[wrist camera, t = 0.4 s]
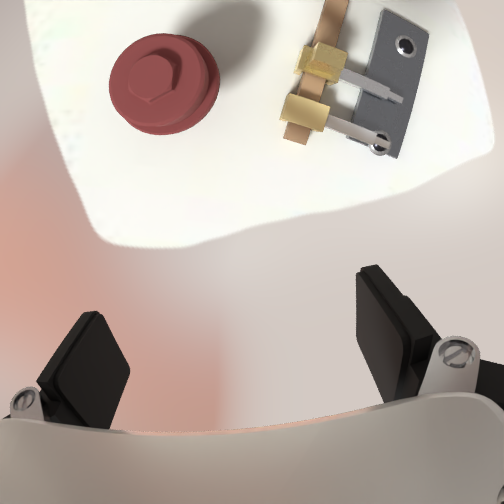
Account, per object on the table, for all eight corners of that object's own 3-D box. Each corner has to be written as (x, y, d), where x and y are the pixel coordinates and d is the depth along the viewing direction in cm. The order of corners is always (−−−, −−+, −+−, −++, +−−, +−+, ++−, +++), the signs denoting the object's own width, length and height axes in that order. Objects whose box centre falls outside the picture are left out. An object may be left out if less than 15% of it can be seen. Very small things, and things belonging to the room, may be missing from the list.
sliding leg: (299, 51, 29) (312, 34, 22) (397, 91, 30) (426, 87, 24) (293, 72, 30) (304, 60, 24) (391, 112, 32) (420, 111, 25)
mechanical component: (242, 81, 31) (191, 149, 34) (174, 39, 28) (126, 106, 31) (240, 57, 19) (163, 160, 22) (142, 4, 17) (75, 101, 20)
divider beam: (319, -11, 25) (325, -21, 22) (411, 30, 27) (422, 24, 24) (273, 135, 33) (276, 136, 30) (372, 169, 35) (383, 173, 32)
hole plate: (381, 11, 26) (384, 8, 25) (425, 35, 27) (429, 34, 26) (344, 142, 34) (347, 143, 32) (392, 162, 34) (396, 163, 33)
